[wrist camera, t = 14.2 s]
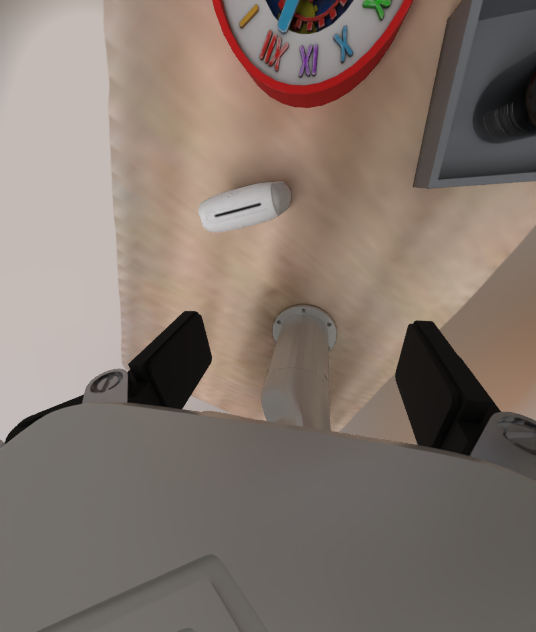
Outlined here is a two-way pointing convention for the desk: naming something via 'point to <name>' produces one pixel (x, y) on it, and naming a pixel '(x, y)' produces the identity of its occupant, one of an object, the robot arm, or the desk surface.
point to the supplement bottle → (509, 105)
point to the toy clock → (309, 43)
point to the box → (476, 97)
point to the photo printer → (245, 206)
